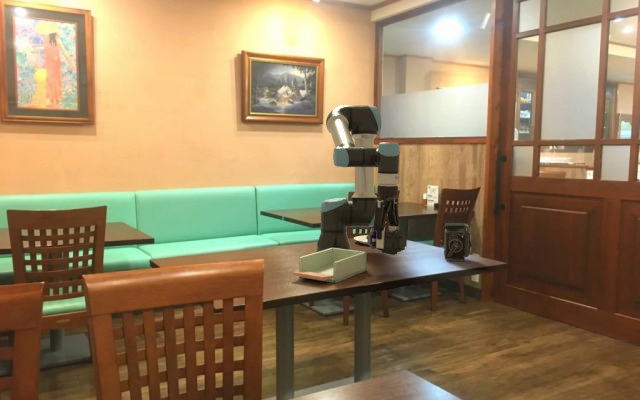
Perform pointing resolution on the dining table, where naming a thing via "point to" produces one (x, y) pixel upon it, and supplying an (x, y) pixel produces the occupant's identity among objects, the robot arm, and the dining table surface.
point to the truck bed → (334, 263)
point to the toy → (389, 241)
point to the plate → (362, 239)
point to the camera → (457, 241)
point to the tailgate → (313, 275)
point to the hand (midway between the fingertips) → (386, 245)
